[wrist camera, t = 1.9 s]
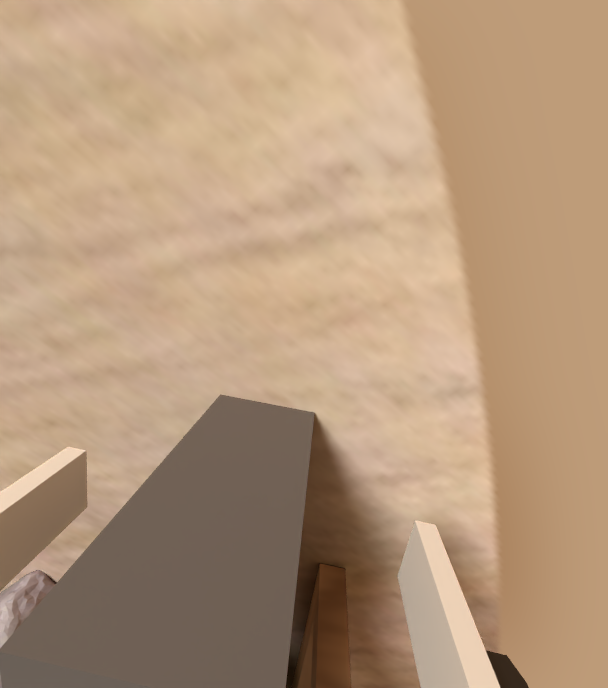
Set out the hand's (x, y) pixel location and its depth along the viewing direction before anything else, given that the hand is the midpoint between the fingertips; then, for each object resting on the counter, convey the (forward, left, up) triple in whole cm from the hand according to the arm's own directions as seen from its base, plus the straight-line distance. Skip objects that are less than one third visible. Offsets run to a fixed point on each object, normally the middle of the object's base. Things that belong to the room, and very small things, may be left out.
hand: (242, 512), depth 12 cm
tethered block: (0, -9, -5) cm, 10 cm away
